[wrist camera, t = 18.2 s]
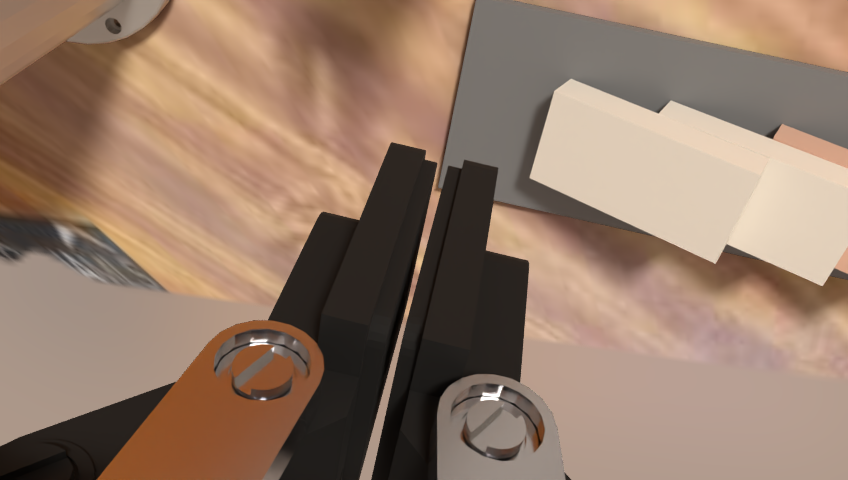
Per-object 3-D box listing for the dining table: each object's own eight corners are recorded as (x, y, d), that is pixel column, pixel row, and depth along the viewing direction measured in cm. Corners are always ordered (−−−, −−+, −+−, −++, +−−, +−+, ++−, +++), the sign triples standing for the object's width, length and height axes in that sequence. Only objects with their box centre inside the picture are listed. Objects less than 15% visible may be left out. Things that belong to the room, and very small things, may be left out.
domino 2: (625, 199, 39) (822, 286, 36) (658, 113, 36) (877, 199, 33) (637, 184, 40) (828, 266, 37) (670, 100, 37) (881, 181, 34)
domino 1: (529, 177, 39) (715, 263, 36) (554, 90, 36) (760, 175, 33) (545, 163, 41) (726, 244, 37) (571, 78, 38) (770, 158, 34)
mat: (439, 182, 43) (438, 187, 43) (477, -8, 36) (476, -3, 36) (894, 284, 42) (898, 291, 42) (1018, 109, 36) (1024, 114, 35)
